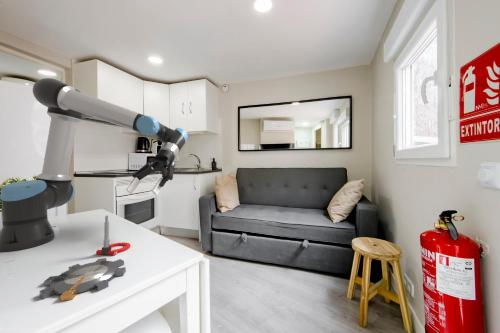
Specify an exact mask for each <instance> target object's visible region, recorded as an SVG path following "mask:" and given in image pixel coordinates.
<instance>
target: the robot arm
mask: <svg viewBox="0 0 500 333" xmlns="http://www.w3.org/2000/svg"><path fill="white" fill-rule="evenodd" d="M32 94H33V96H34V98H35V99H36V101H37V102H38V103H40V104H41V105H42V106H44V107H46V108H47V111H46V114H47V115H48V116H49V117H50V125H49V129H48V135H47V141H46V148H45V152H44V158H43V163H42V171H41V173H40V174H37V175H36V176H35V179H33V180H23V181H15V182H12V183H11V182H10V183H8V184H5V185H3V186H2V187H1V189H0V205H1V206H0V207H1V220H2V227H1V230H0V252H14V251H19V250H20V251H21V250H25V249H30V248H34V247H38V246H41V245H43V244H47V243H49V242H51V241H53V240H54V239H55V231H54V229H53V227H52V225H51V223H50V220H49V218H48V210H51V209H54V208H58V207H61V206H64V205H66V204H67V203H69V202H70V201H71V200H72V199H73V198H74V196H75V194H76V188H75V186H74V184H73V183H72V181H73V179H72V176H70V175H69V172H70V167H71V166H70V165H71V159H72V153H73V148H74V143H75V136H76V130H77V124H78V123H79V122H82V120H83V117H84V115H86V116H89V117H92V118H94V119H95V118H96V119H98V120H101V121H103V122H107V123H110V124H114V125H116V126H119V127H122V128H125V129H128V130H131V131H134V132H137V133H140V134H142V135H145V136H148V137H151V138H153V139H156V140H158V141H160V142H162V143H163V145H162V146H161V147H160V149H159V150H158V152H157V153H156V154H155V160H154V161H151V160H148V161H147V162H146V163H145V164H144V165H143V166H142V167H140V168H139V169H138V170H137V171H136V172H134V173H133V174H131V176H132V178H133V180H131V182H130V184H129V185H128V186H127V187H126V188H125V190H126V191H127V193H129V194H131V195H133V193H134V191H135V190H136V188H137V187H138V186H139V184H140V183H141V180H142V179H144V178H146V177H147V176H149V175H151V174H152V173H155V172H161V177H159V178H158V180H157V182H156V183H155V185H154V186H153V188H152V189H151V192H152V193H153V194H154V195H155V196H158V194H159V193H160V191H161V190H162V188H163V187H164V186H165V185H166V183H167V182H169V181H172V180H173V179H174V170H175V169H174V168H175V166H176V163H175V162H174V161H175V159H176V157H177V156H178V154H179V153H180V152H181V150H182V149H183V147H184V146H185V144H186V142H187V141H188V137H189V134H188V133H187V131H186V130H185V129H183V128H181V127H177V128H175V129H172V128H170V127H169V126H166V125H164V124H162V123H160V122H159V121H158V120H157V119H156V118H154V117H153V116H150V115H145V114H141V113H139V112H137V111H134V110H130V109H128V108H125V107H122V106H119V105H117V104H114V103H111V102H108V101H105V100H103V99H100V98H97V97H95V96H92V95H89V94H87V93H83V92H81V91H80V90H79V89H78V88H75V87H73V86H72V85H68V84H67V83H65V82H62V81H61V80H58V79H56V78H49V77H43V78H41V79H38V80H36V82H34V83H33V87H32Z"/></svg>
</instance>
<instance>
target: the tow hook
mask: <svg viewBox="0 0 500 333" xmlns="http://www.w3.org/2000/svg"><path fill="white" fill-rule="evenodd" d="M104 220H105V221H104V231H103V232H104V234H103V235H104V238H103V246H102V247H101V249H96V252H95V253H96V255H102V256H116V255H117V254H118V253H121V252H124V251H126V250H129V249H130V248H131V243H129V242H126V241H125V242H116V243H115V242H114V243H110V237H109V236H110V233H109V232H110V231H109V230H110V222H109V215H105V218H104ZM115 247H120V248H116V249H112V248H115Z"/></svg>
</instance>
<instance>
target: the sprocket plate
mask: <svg viewBox="0 0 500 333" xmlns="http://www.w3.org/2000/svg"><path fill="white" fill-rule="evenodd" d="M126 272H127V270H126V266H125V261H124V259H121V258H119V259H117V260H115V261H112V260H107V258H106V257H103V258H98V259H96V260H95V261H93V262H92V261H91V262H88V263H85V264H79V263H77V264H74V265H71V266H68V270H66V271H63V272H62V273H60V274H58V275H51V276H49V277H48V278H47V279H45V280H44V281H43V286H44V287H46V288H42V290H39V297H40V298H41V299H42V300H45V299H47V298H50V297H52V296H59V297H60V302H64V301H72V300H73V299H75V297H76V296H77V295H79V294H83V293H87V292H90V291H92V290H96V291H97V292H100V291H102V290H104V289H107V288H108V287H109V286H110V285H109V282H110V281H112V280H113V279H114V278H117V277H123V276H125V273H126Z"/></svg>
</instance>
